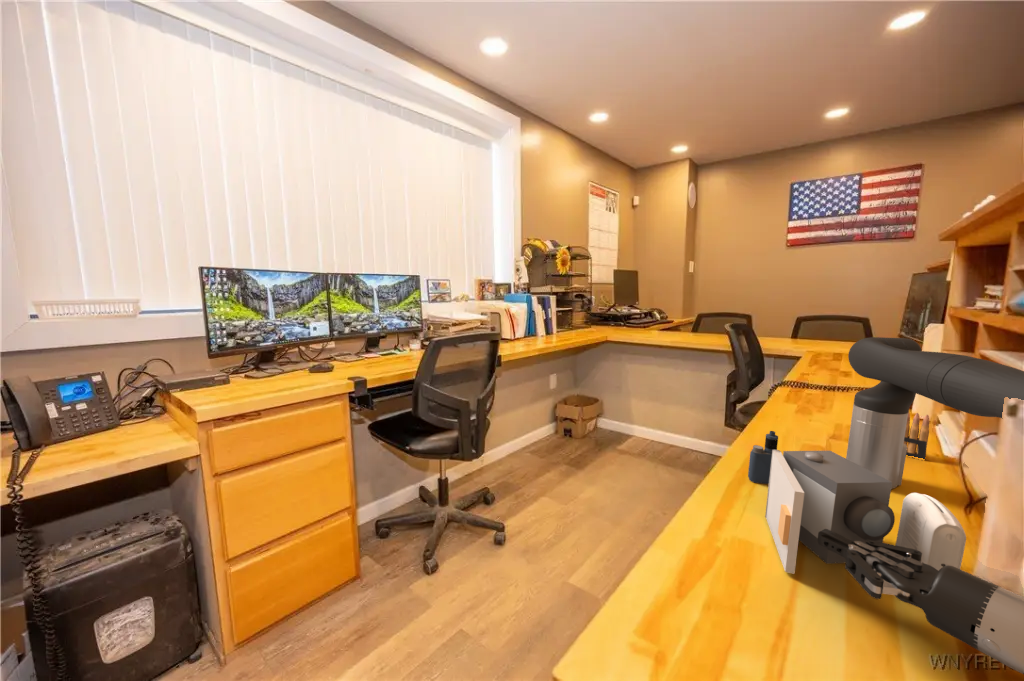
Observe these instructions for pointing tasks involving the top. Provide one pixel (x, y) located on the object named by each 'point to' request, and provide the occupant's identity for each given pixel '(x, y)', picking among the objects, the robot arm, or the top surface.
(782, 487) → the side door
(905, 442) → the ammunition clip
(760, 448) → the vaping device
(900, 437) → the robot arm
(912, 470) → the top surface
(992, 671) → the top surface
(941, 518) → the photo printer
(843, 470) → the block
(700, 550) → the top surface
